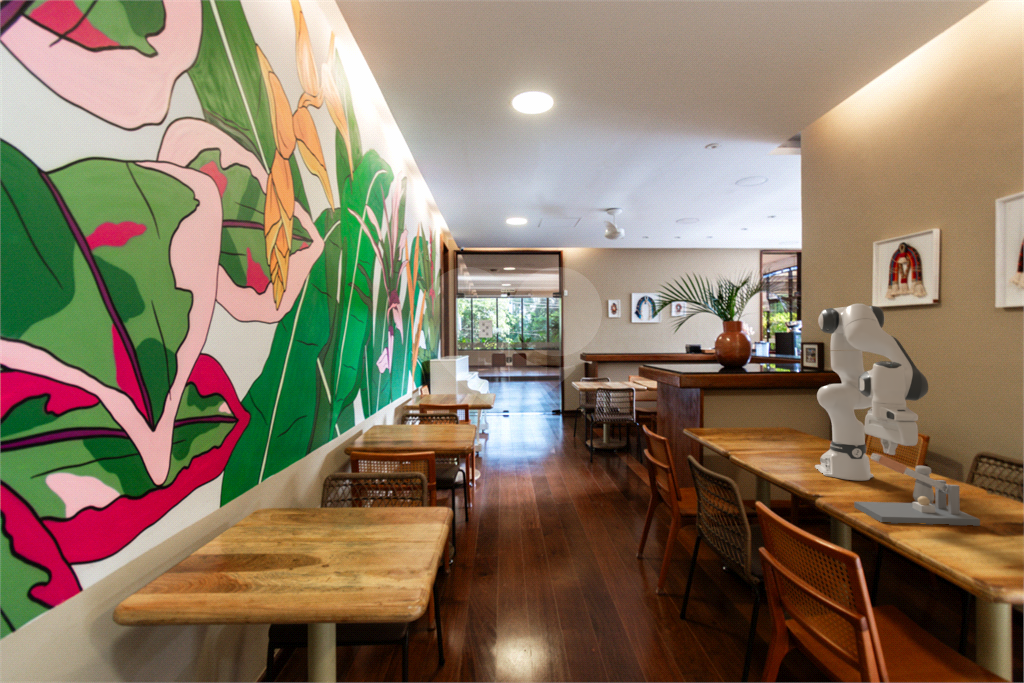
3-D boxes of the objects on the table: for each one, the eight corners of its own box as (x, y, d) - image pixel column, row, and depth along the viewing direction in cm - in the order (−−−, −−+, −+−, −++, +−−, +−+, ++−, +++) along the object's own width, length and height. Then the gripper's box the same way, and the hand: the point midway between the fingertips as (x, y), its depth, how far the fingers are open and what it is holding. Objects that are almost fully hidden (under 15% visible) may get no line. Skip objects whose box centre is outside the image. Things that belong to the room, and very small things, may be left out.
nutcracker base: (943, 509, 160) (943, 477, 160) (980, 525, 146) (979, 490, 146) (854, 507, 163) (854, 475, 163) (881, 523, 149) (881, 487, 149)
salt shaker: (926, 500, 168) (926, 464, 168) (939, 506, 163) (938, 468, 163) (908, 500, 169) (908, 464, 169) (920, 506, 163) (920, 468, 163)
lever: (944, 494, 155) (949, 485, 155) (953, 498, 151) (958, 488, 151) (868, 460, 157) (872, 451, 157) (875, 463, 154) (879, 453, 153)
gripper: (858, 407, 165) (859, 446, 165) (900, 416, 145) (900, 461, 145) (878, 407, 165) (878, 447, 165) (922, 416, 144) (923, 461, 144)
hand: (889, 453), depth 155 cm, fingers closed
